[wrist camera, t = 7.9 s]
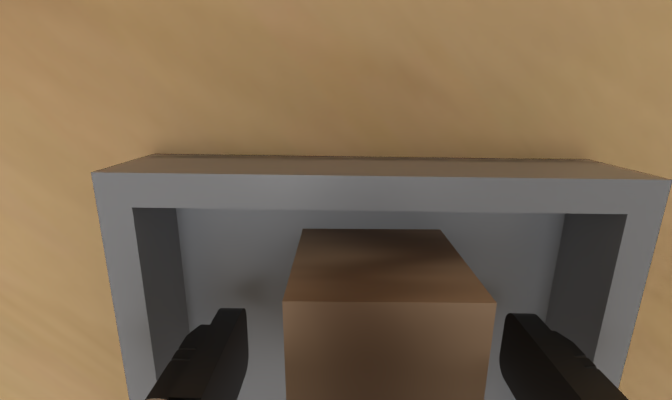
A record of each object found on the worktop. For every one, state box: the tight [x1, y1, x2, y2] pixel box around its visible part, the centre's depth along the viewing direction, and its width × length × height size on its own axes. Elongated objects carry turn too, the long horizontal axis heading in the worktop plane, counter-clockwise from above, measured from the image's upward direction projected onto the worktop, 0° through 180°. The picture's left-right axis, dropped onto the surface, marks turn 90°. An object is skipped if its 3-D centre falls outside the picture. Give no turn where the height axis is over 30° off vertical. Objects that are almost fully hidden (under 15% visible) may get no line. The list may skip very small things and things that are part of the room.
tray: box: [91, 154, 672, 400], centre depth 14 cm, size 16×18×4 cm
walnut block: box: [282, 229, 497, 400], centre depth 12 cm, size 5×5×5 cm
